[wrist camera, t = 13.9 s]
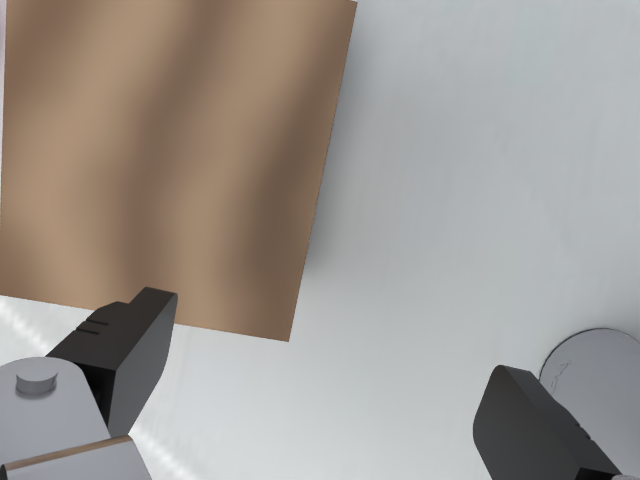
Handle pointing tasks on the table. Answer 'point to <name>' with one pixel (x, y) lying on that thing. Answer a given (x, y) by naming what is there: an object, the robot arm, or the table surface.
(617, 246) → the table surface
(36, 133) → the shelf
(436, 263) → the table surface
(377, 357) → the table surface
